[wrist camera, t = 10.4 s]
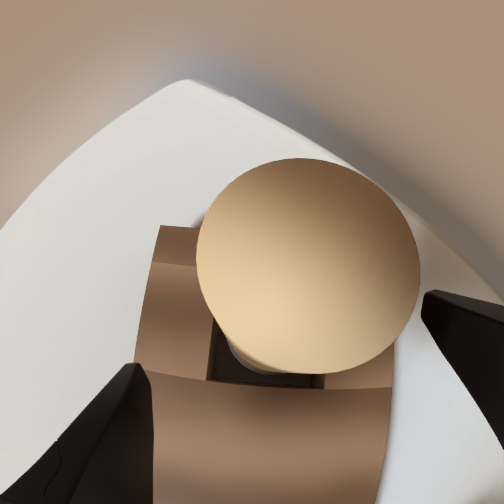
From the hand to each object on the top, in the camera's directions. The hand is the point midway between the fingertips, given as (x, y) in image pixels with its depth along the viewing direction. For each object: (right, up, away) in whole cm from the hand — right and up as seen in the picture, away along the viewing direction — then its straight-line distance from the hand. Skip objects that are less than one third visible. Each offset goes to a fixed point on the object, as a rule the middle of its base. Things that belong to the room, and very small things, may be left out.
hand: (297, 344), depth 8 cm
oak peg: (0, -2, +8) cm, 9 cm away
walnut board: (-1, -8, +6) cm, 10 cm away
